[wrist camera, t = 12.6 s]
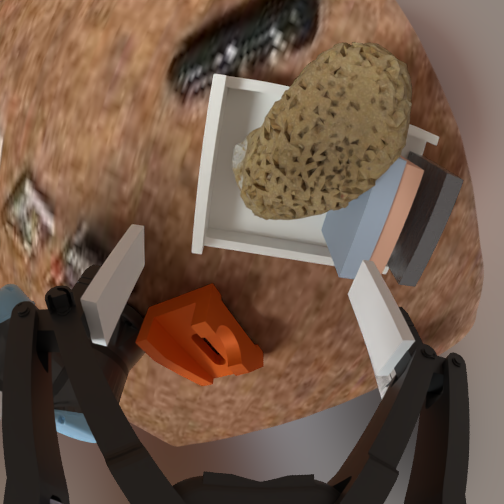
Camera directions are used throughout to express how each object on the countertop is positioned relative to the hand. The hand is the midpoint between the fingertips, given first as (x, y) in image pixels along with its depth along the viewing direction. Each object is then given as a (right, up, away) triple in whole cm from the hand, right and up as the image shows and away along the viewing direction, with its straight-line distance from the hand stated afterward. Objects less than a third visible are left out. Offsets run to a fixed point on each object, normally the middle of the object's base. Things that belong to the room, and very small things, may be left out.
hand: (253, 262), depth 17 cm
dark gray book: (+19, +7, +17) cm, 26 cm away
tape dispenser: (-8, -13, +33) cm, 36 cm away
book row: (+12, +9, +18) cm, 24 cm away
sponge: (0, +10, +15) cm, 18 cm away
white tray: (+7, +10, +17) cm, 21 cm away
